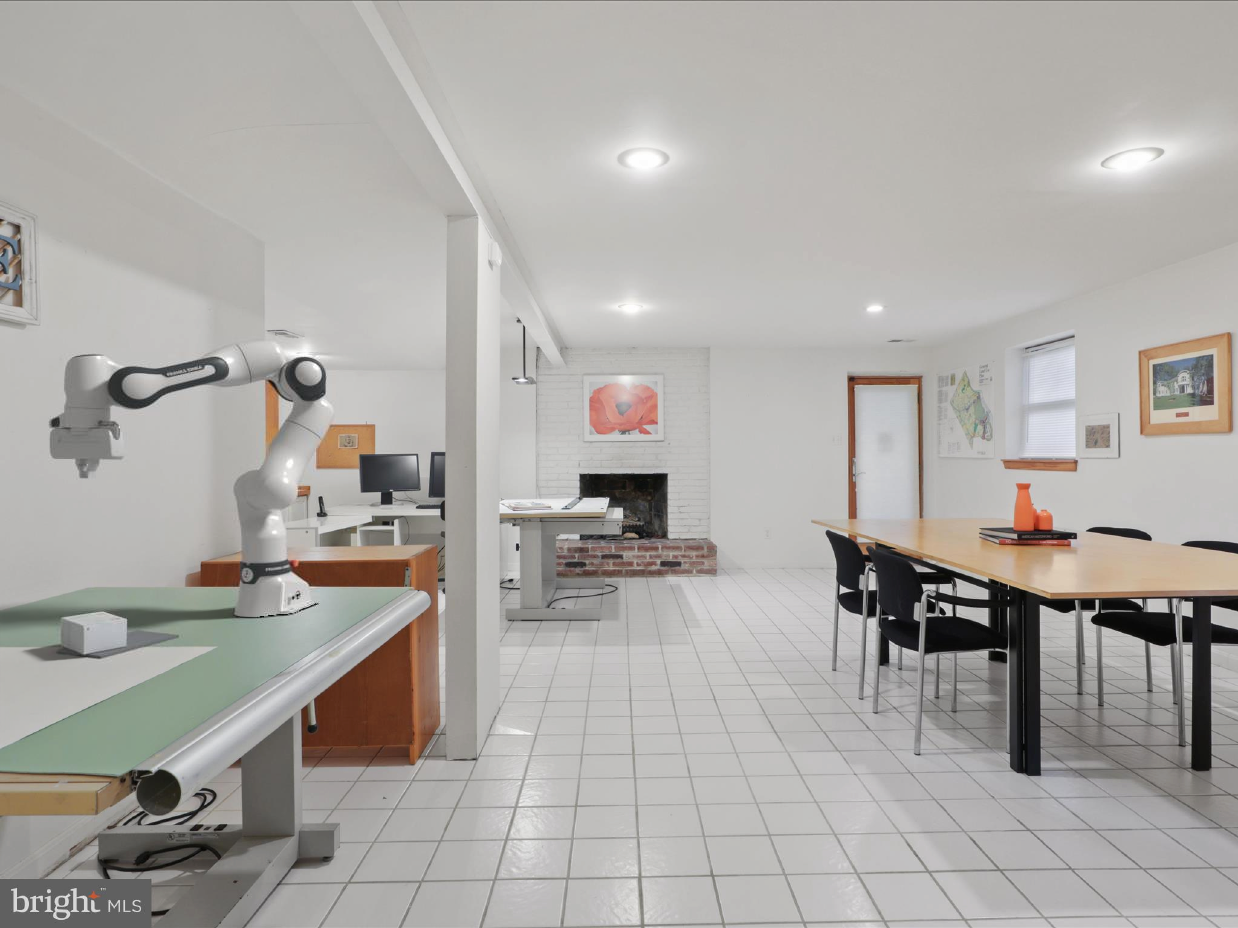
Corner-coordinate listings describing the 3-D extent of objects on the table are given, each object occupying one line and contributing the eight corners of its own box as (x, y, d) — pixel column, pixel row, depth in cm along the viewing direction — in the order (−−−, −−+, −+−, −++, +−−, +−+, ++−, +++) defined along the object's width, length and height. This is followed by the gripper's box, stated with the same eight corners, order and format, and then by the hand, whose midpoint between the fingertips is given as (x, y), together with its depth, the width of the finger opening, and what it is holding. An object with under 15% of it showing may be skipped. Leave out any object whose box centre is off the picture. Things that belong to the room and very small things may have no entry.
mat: (137, 632, 163) (137, 630, 163) (178, 636, 159) (178, 634, 159) (56, 652, 146) (56, 650, 146) (100, 658, 142) (101, 655, 142)
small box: (60, 645, 150) (82, 655, 142) (60, 617, 150) (82, 625, 142) (103, 638, 156) (127, 646, 149) (103, 610, 156) (127, 618, 149)
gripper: (132, 421, 164) (132, 478, 164) (71, 422, 169) (71, 477, 170) (106, 420, 157) (105, 479, 158) (43, 420, 163) (43, 477, 163)
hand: (87, 478), depth 164 cm, fingers closed
